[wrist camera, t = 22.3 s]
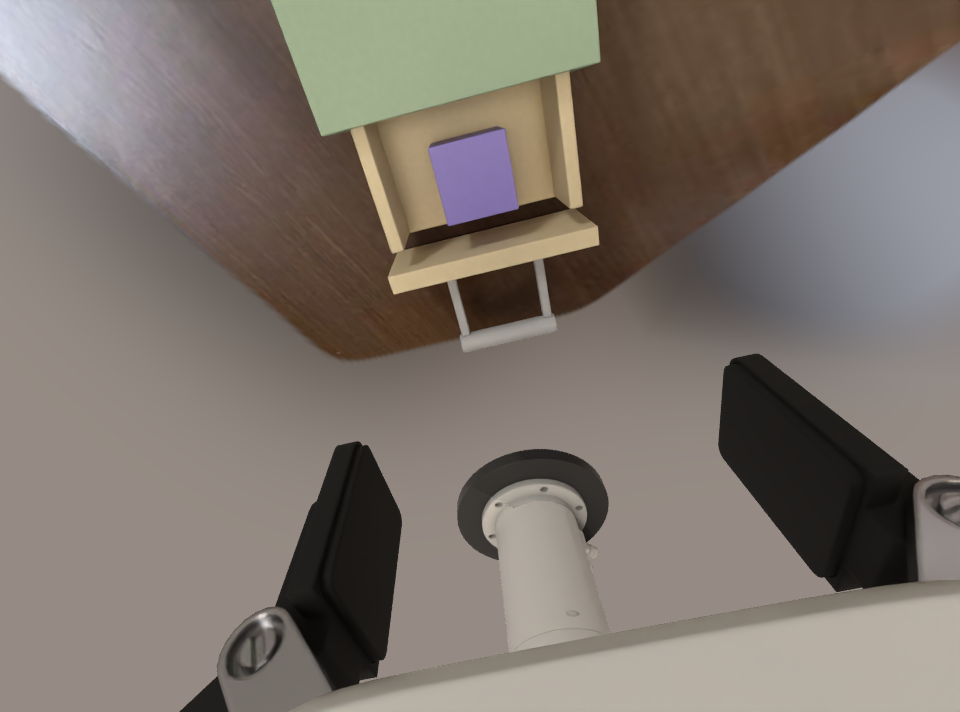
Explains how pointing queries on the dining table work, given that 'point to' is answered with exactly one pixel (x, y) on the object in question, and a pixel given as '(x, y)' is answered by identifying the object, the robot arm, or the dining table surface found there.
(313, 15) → the drawer cabinet
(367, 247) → the dining table surface
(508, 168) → the purple cube
